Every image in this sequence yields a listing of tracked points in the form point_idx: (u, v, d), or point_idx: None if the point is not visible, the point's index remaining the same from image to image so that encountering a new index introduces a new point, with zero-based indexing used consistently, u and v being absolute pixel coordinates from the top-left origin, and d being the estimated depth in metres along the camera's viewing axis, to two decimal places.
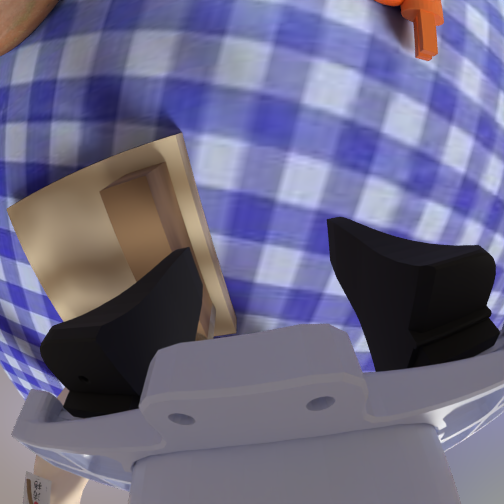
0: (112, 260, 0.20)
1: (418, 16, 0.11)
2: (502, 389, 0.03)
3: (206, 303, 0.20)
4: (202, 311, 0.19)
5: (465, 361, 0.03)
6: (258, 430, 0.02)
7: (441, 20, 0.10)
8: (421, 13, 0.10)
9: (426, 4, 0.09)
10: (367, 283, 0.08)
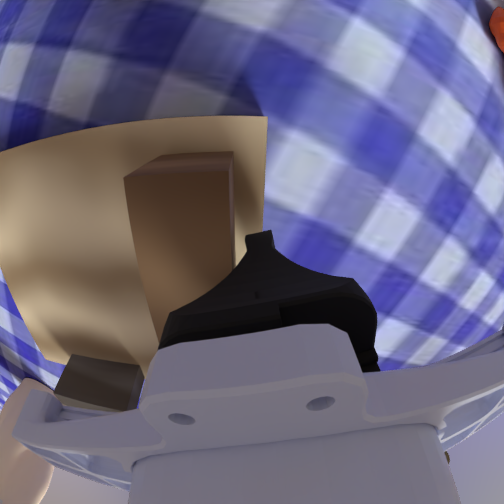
0: (110, 273, 0.13)
1: None
2: (502, 389, 0.03)
3: None
4: None
5: (465, 361, 0.03)
6: (258, 430, 0.02)
7: None
8: None
9: None
10: None
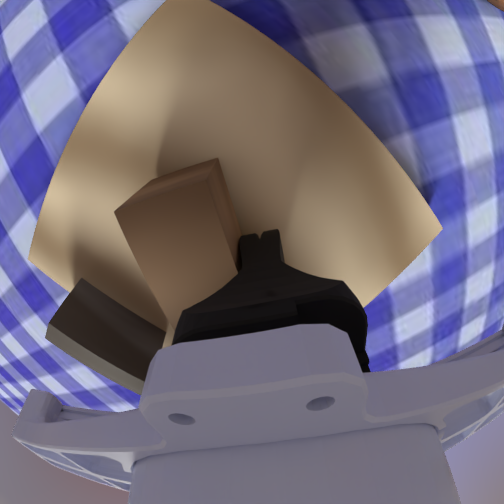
0: None
1: None
2: (502, 389, 0.03)
3: None
4: None
5: (465, 361, 0.03)
6: (258, 430, 0.02)
7: None
8: None
9: None
10: None
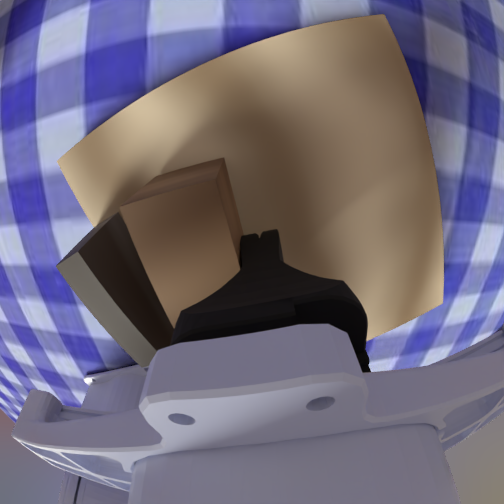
0: (316, 253, 0.13)
1: None
2: (502, 389, 0.03)
3: None
4: None
5: (465, 361, 0.03)
6: (258, 430, 0.02)
7: None
8: None
9: None
10: None
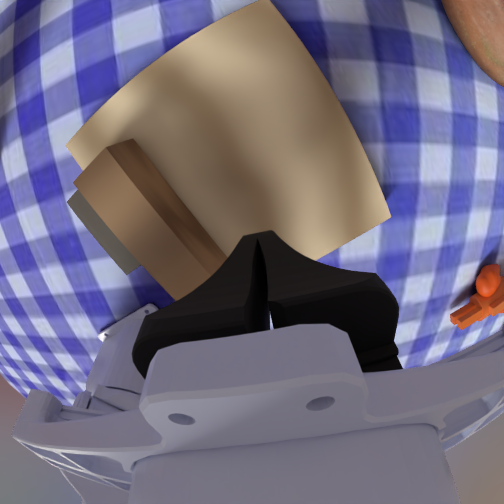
0: (249, 176, 0.17)
1: (477, 308, 0.24)
2: (502, 389, 0.03)
3: None
4: None
5: (465, 361, 0.03)
6: (258, 430, 0.02)
7: (479, 320, 0.24)
8: (480, 310, 0.23)
9: (486, 311, 0.23)
10: None
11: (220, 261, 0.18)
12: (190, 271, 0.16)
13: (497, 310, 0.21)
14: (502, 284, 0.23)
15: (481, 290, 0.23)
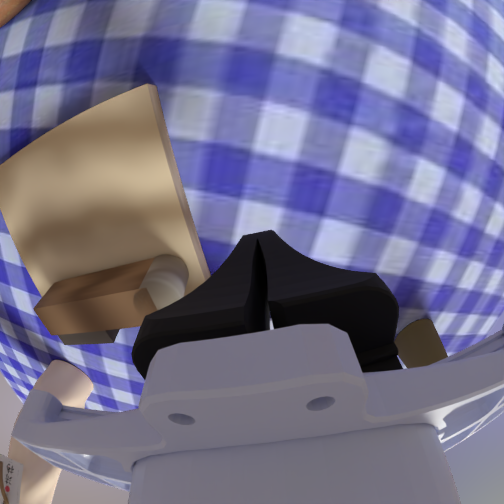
0: (84, 218, 0.18)
1: None
2: (502, 389, 0.03)
3: (137, 270, 0.19)
4: (125, 282, 0.17)
5: (465, 361, 0.03)
6: (258, 430, 0.02)
7: None
8: None
9: None
10: None
11: (131, 271, 0.19)
12: (107, 305, 0.17)
13: None
14: None
15: None
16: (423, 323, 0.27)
